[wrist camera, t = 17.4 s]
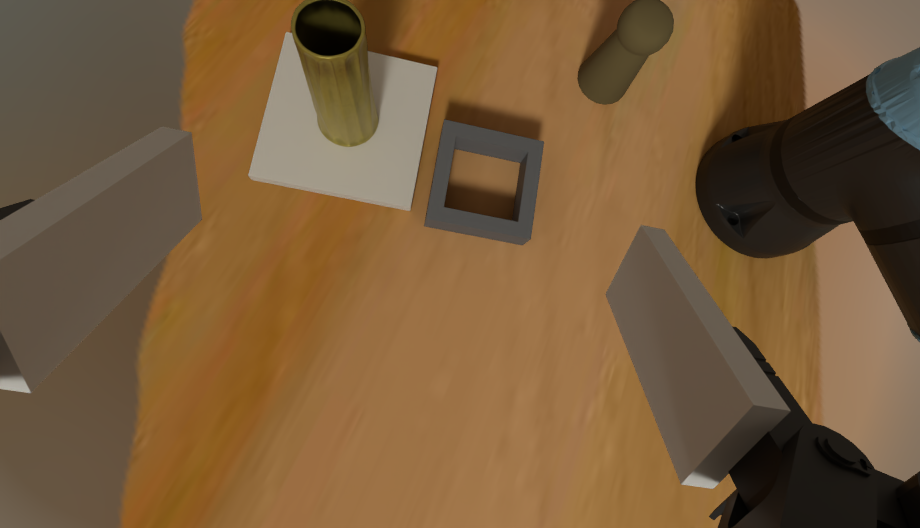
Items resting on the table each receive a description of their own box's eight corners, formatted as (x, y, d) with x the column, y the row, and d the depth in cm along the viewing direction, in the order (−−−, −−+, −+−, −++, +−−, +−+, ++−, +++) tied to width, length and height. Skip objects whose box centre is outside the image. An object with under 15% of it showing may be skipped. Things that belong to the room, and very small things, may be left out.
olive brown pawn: (588, 109, 52) (638, 50, 41) (570, 62, 53) (615, -8, 42) (634, 97, 53) (694, 36, 42) (615, 52, 54) (670, -20, 43)
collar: (535, 153, 50) (544, 141, 47) (522, 245, 48) (530, 239, 45) (441, 132, 49) (444, 119, 46) (424, 226, 47) (426, 218, 44)
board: (436, 73, 50) (437, 67, 49) (410, 211, 47) (410, 207, 46) (288, 39, 48) (286, 31, 47) (252, 179, 45) (248, 175, 44)
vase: (390, 128, 47) (387, 40, 33) (339, 158, 46) (314, 79, 32) (357, 82, 47) (340, -26, 34) (305, 110, 46) (266, 11, 32)
